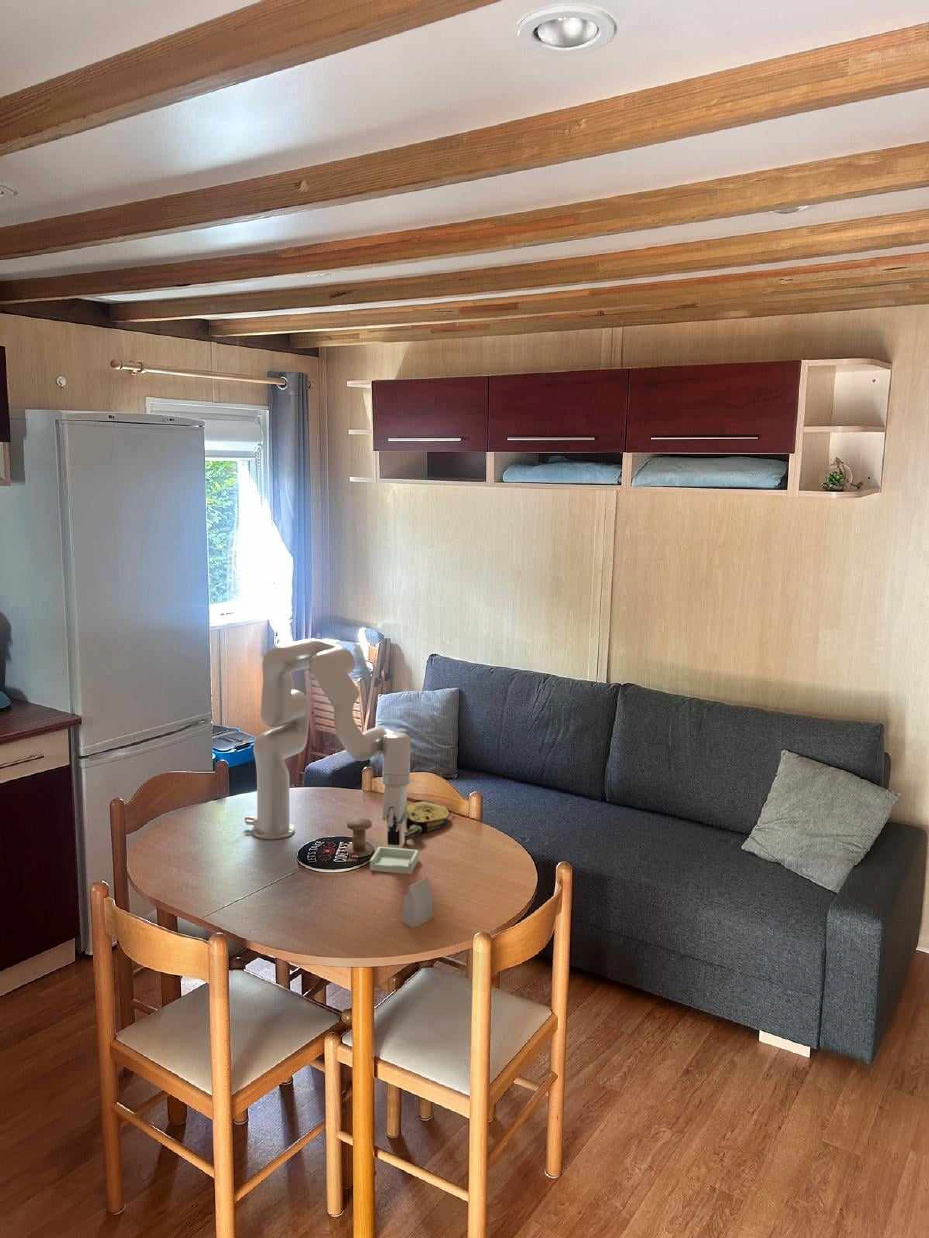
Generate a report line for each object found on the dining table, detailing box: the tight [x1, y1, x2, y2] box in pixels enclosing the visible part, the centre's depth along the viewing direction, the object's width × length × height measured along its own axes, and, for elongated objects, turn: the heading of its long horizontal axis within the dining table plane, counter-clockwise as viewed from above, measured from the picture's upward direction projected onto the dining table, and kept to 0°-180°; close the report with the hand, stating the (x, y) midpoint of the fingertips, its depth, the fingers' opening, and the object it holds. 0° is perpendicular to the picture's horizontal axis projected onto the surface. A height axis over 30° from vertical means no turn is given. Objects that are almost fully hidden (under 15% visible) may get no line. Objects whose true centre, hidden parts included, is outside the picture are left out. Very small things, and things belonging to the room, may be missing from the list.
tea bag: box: [402, 877, 434, 928], centre depth 231 cm, size 4×7×10 cm, turn 140°
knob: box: [344, 817, 374, 856], centre depth 271 cm, size 8×8×9 cm
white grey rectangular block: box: [386, 815, 406, 849], centre depth 262 cm, size 4×4×8 cm
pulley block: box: [404, 799, 454, 843], centre depth 291 cm, size 14×6×30 cm
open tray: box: [369, 846, 420, 875], centre depth 263 cm, size 12×10×3 cm
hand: (395, 840), depth 262 cm, fingers closed on white grey rectangular block, 4 cm apart
